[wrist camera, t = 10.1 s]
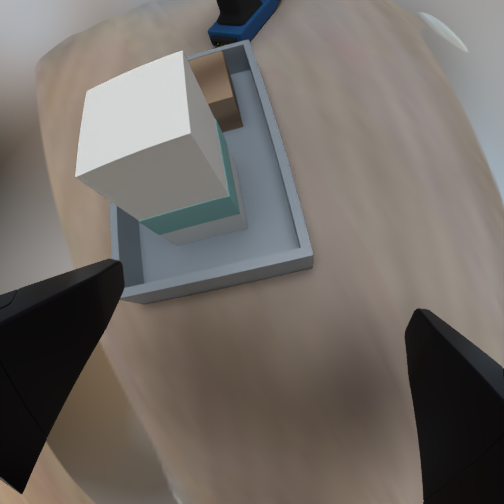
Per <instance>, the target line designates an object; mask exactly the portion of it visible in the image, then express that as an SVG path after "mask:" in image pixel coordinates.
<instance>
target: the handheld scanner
mask: <svg viewBox="0 0 504 504" xmlns="http://www.w3.org/2000/svg"><path fill="white" fill-rule="evenodd" d="M217 3H218V6H219V10H220V15H219V17H218V20H217V21H216V22H215V23H214V25H213V26H212V27H211V28H210V29H209V30H208V34H209V37H210V40H211V42H212V44H213V45H217V46H225V45H228V44H232V43H236V42H240V41H244V40H248V39H249V41H251V40H252V38H253V37H254V36H255V35H256V33H257V32H258V31H259V30H260V28H261V27H262V26H263V25H264V23H265V22H266V21H267V20H268V19H269V17H270V16H271V15H272V14H273V12H274V11H275V9H276V7H277V5H278V3H279V0H217Z"/></svg>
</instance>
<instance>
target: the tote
mask: <svg viewBox="0 0 504 504" xmlns="http://www.w3.org/2000/svg"><path fill="white" fill-rule="evenodd" d="M219 51H222V52H223V55H224V58H225V61H226V63H227V66H228V69H229V72H230V75H231V78H232V81H233V85H234V89H235V93H236V98H237V102H238V106H239V110H240V114H241V118H242V123H243V127H241V128H238V129H234V130H230V131H227V132H223V135H224V138H225V140H226V142H227V146H228V148H229V150H230V153H231V155H232V157H233V159H234V161H235V164H236V169H237V174H238V179H239V184H240V189H241V194H242V199H243V204H244V208H245V213H246V218H247V223H248V228H247V229H243V230H239V231H235V232H231V233H227V234H223V235H219V236H215V237H211V238H207V239H203V240H199V241H195V242H191V243H187V244H183V245H179V246H177V245H175V244H174V243H172V242H171V241H169V240H167V239H166V238H164V237H163V236H161V235H158V234H156V233H155V232H153V231H152V230H150V229H149V228H147V227H146V226H144V225H143V224H141V223H139V220H137V219H136V218H134V217H133V216H131V215H130V214H128V213H127V212H125V211H124V210H122V209H121V208H119V207H118V206H116V205H115V204H113V203H112V202H110V227H111V249H112V259H114V260H119V261H121V262H122V264H123V272H124V282H125V287H124V291H123V293H122V296H121V298H120V300H124V301H129V302H134V303H140V304H147V303H152V302H158V301H163V300H167V299H172V298H177V297H182V296H187V295H192V294H197V293H201V292H206V291H211V290H216V289H220V288H225V287H230V286H234V285H239V284H243V283H248V282H252V281H257V280H261V279H266V278H270V277H275V276H279V275H284V274H288V273H292V272H297V271H301V270H305V269H309V268H312V267H313V252H312V247H311V243H310V240H309V236H308V232H307V228H306V224H305V220H304V216H303V213H302V209H301V205H300V201H299V198H298V194H297V190H296V187H295V183H294V180H293V176H292V173H291V169H290V166H289V162H288V159H287V155H286V152H285V149H284V145H283V142H282V139H281V135H280V132H279V129H278V125H277V122H276V119H275V116H274V113H273V110H272V106H271V103H270V100H269V97H268V94H267V91H266V88H265V85H264V82H263V79H262V76H261V73H260V70H259V67H258V64H257V61H256V58H255V56H254V53H253V50H252V47H251V44H250V41H249V39H248V40H244V41H240V42H236V43H232V44H228V45H225V46H221V47H218V48H214V49H211V50H207V51H204V52H201V53H198V54H194V55H191V56H188V57H186V59H187V61H190V60H193V59H196V58H199V57H202V56H205V55H209V54H212V53H215V52H219Z"/></svg>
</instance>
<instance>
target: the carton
mask: <svg viewBox="0 0 504 504" xmlns="http://www.w3.org/2000/svg"><path fill="white" fill-rule="evenodd" d="M75 177H76V178H77V179H78V180H80V181H81V182H83V183H84V184H86V185H87V186H89V187H90V188H91V189H93V190H94V191H96V192H97V193H99V194H100V195H102V196H103V197H105V198H106V199H107V200H109V201H110V202H112V203H113V204H115V205H116V206H118V207H119V208H121V209H122V210H124V211H125V212H127V213H128V214H130V215H131V216H133V217H134V218H136V219H137V220H139V223H141V224H143V225H144V226H146V227H147V228H149V229H150V230H152V231H153V232H155V233H156V234H158V235H161V236H163V237H164V238H166V239H167V240H169V241H171V242H172V243H174V244H175V245H177V246H179V245H183V244H187V243H191V242H195V241H199V240H203V239H207V238H211V237H215V236H219V235H223V234H227V233H231V232H235V231H239V230H243V229H247V228H248V223H247V218H246V213H245V208H244V204H243V199H242V194H241V189H240V184H239V179H238V174H237V169H236V164H235V161H234V159H233V157H232V155H231V153H230V150H229V148H228V146H227V142H226V140H225V138H224V135H223V133H222V131H221V129H220V127H219V124H218V122H217V120H216V119H215V118H214V116H213V114H212V112H211V109H210V107H209V105H208V103H207V101H206V99H205V97H204V95H203V92H202V90H201V88H200V86H199V84H198V82H197V80H196V78H195V76H194V74H193V71H192V69H191V67H190V65H189V63H188V61H187V59H186V57H185V55H184V53H183V51H179V52H176V53H174V54H171V55H168V56H165V57H163V58H160V59H157V60H155V61H152V62H150V63H147V64H145V65H142V66H140V67H137V68H135V69H133V70H130V71H128V72H126V73H124V74H121V75H119V76H117V77H115V78H113V79H111V80H108V81H106V82H104V83H102V84H100V85H98V86H96V87H94V88H92V89H90V90H88V91H87V93H86V98H85V104H84V110H83V116H82V123H81V130H80V137H79V145H78V154H77V164H76V176H75Z"/></svg>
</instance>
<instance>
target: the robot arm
mask: <svg viewBox="0 0 504 504" xmlns="http://www.w3.org/2000/svg"><path fill="white" fill-rule="evenodd" d="M124 287H125V282H124V272H123V264H122V262H121V261H119V260H114V259H107V260H103V261H100V262H97V263H94V264H91V265H88V266H85V267H82V268H79V269H76V270H73V271H70V272H67V273H64V274H61V275H58V276H55V277H52V278H49V279H46V280H43V281H40V282H37V283H34V284H31V285H28V286H25V287H22V288H20V289H18V290H14V291H11V292H8V293H5V294H2V295H0V480H2V481H3V482H4V483H6V484H7V485H9V486H10V487H11V488H13V489H14V490H16V491H17V492H19V493H20V494H22V493H23V492H24V490H25V487H26V485H27V482H28V480H29V478H30V475H31V473H32V471H33V468H34V466H35V464H36V462H37V459H38V457H39V455H40V453H41V451H42V448H43V446H44V444H45V442H46V440H47V437H48V435H49V433H50V431H51V429H52V427H53V425H54V423H55V421H56V419H57V417H58V415H59V413H60V411H61V409H62V407H63V405H64V403H65V401H66V399H67V397H68V396H69V394H70V392H71V390H72V388H73V386H74V384H75V382H76V380H77V379H78V377H79V375H80V373H81V371H82V370H83V368H84V366H85V364H86V362H87V361H88V359H89V357H90V355H91V354H92V352H93V350H94V348H95V347H96V345H97V343H98V342H99V340H100V338H101V336H102V335H103V333H104V331H105V329H106V328H107V325H108V323H109V321H110V319H111V317H112V315H113V313H114V310H115V308H116V306H117V304H118V302H119V300H120V298H121V296H122V293H123V291H124ZM405 344H406V354H407V365H408V375H409V382H410V388H411V394H412V400H413V406H414V412H415V419H416V426H417V433H418V441H419V450H420V459H421V470H422V483H423V500H424V502H423V504H504V368H502V366H501V365H499V364H498V363H497V362H496V361H494V360H493V359H492V358H491V357H489V356H488V355H487V354H486V353H484V352H483V351H482V350H481V349H479V348H478V347H477V346H476V345H474V344H473V343H472V342H470V341H469V340H468V339H467V338H465V337H464V336H463V335H461V334H460V333H459V332H457V331H456V330H455V329H454V328H452V327H451V326H450V325H448V324H447V323H446V322H444V321H443V320H442V319H440V318H439V317H438V316H436V315H435V314H434V313H432V312H431V311H430V310H427V309H420V308H418V309H416V310H415V311H414V313H413V315H412V317H411V319H410V322H409V324H408V326H407V328H406V331H405Z"/></svg>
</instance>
